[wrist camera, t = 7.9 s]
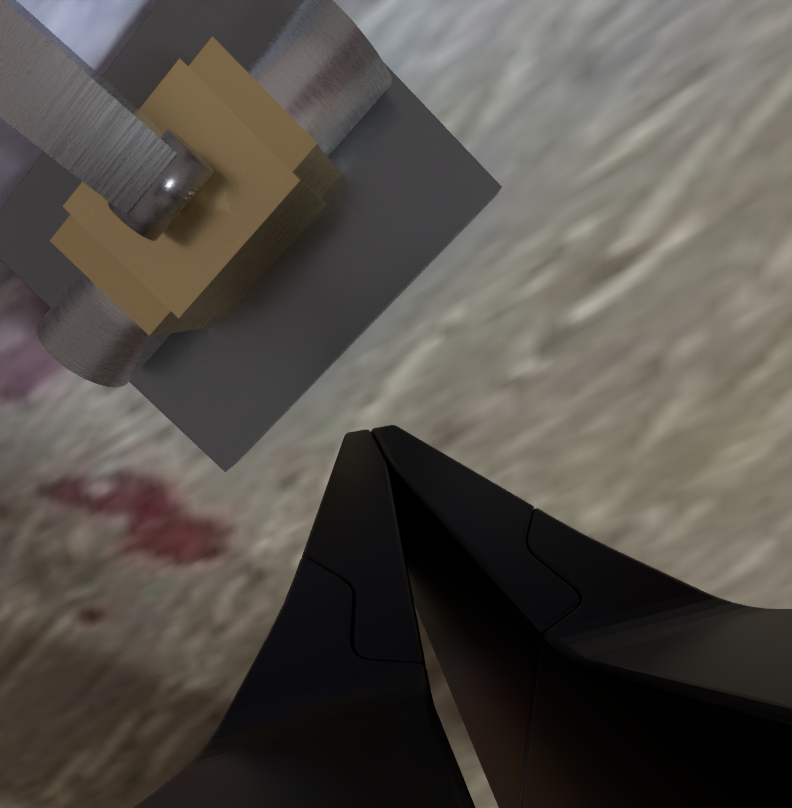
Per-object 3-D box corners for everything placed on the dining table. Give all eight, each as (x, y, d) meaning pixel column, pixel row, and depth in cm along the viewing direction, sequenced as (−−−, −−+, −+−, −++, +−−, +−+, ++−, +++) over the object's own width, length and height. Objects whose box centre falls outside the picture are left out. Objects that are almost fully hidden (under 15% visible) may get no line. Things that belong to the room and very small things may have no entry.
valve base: (497, 193, 20) (518, 158, 15) (236, 462, 22) (179, 509, 17) (246, -72, 19) (178, -203, 14) (3, 242, 21) (-128, 225, 16)
